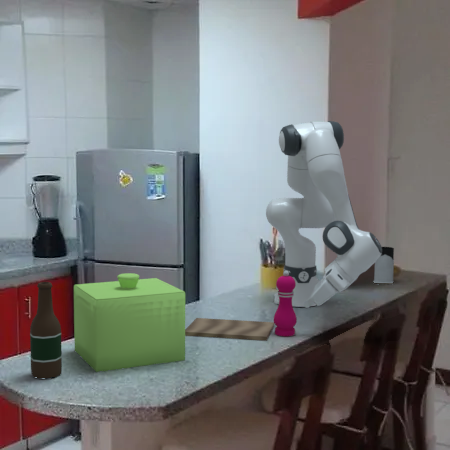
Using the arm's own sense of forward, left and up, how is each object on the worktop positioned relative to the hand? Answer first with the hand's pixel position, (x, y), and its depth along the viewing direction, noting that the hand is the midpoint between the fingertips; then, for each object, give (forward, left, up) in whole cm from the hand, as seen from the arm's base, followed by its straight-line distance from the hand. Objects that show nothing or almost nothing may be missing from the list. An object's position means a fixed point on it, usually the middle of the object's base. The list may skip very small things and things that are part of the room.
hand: (305, 305), depth 230 cm
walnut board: (-7, -22, -9) cm, 25 cm away
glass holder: (-82, +53, -10) cm, 98 cm away
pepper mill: (-2, -6, -9) cm, 11 cm away
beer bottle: (+32, -75, -9) cm, 82 cm away
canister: (+17, -54, -10) cm, 58 cm away
